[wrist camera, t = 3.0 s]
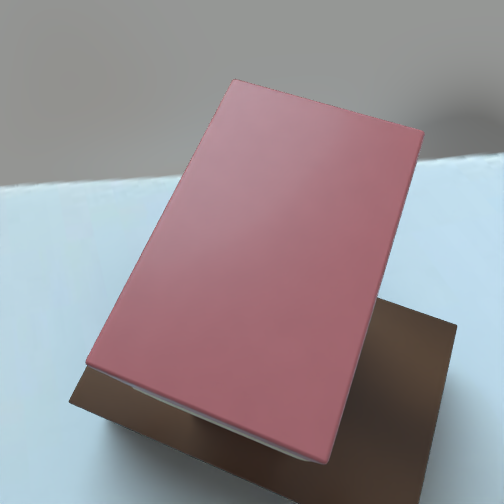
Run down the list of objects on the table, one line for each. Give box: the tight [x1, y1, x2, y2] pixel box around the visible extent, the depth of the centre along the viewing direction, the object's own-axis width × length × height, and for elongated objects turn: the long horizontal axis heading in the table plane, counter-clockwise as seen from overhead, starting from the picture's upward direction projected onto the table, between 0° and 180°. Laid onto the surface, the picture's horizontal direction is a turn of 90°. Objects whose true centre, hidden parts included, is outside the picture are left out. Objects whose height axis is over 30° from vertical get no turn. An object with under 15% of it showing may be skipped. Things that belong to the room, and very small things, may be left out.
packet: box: [86, 79, 425, 464], centre depth 12 cm, size 6×4×10 cm, turn 159°
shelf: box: [69, 298, 457, 504], centre depth 18 cm, size 8×12×4 cm, turn 69°
